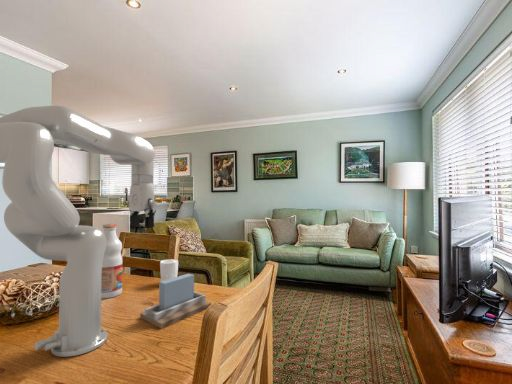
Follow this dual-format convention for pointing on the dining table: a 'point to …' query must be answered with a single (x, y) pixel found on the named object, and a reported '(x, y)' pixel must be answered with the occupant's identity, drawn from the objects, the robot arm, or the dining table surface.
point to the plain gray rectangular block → (176, 291)
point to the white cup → (168, 269)
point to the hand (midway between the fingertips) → (142, 226)
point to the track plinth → (175, 311)
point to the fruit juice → (111, 264)
